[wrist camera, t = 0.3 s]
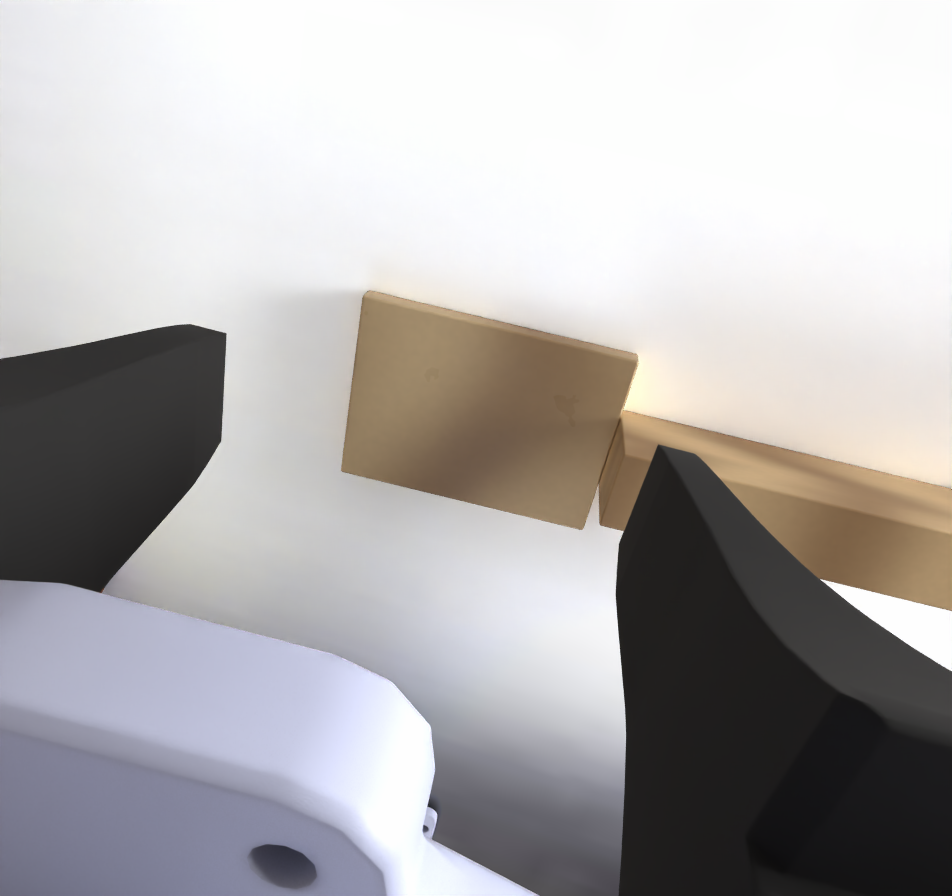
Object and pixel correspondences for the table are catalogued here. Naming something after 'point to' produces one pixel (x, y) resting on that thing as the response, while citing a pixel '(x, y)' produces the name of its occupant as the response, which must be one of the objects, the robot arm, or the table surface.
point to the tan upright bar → (608, 447)
